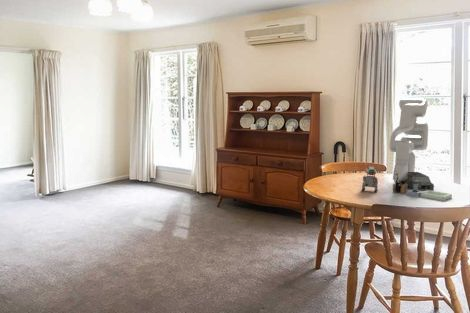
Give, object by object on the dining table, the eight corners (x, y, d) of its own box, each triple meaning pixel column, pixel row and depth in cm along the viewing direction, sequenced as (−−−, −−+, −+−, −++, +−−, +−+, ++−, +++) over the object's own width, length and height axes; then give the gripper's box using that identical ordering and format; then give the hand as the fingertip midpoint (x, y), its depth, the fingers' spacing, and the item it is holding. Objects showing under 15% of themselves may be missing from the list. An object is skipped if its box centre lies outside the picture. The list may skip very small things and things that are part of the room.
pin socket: (406, 195, 253) (406, 190, 252) (411, 193, 257) (412, 189, 257) (417, 197, 247) (418, 192, 247) (423, 195, 252) (423, 191, 251)
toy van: (417, 193, 257) (418, 177, 255) (402, 185, 281) (402, 170, 280) (434, 194, 257) (435, 178, 255) (417, 185, 281) (418, 171, 280)
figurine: (379, 189, 266) (380, 166, 264) (375, 193, 256) (377, 169, 254) (364, 188, 271) (365, 165, 269) (360, 191, 261) (361, 167, 259)
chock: (392, 191, 262) (393, 183, 261) (396, 190, 265) (396, 182, 264) (403, 193, 256) (404, 185, 256) (407, 192, 259) (407, 184, 259)
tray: (419, 196, 249) (419, 192, 248) (427, 193, 256) (428, 189, 255) (443, 201, 238) (443, 196, 238) (451, 198, 245) (451, 194, 245)
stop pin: (410, 195, 252) (411, 180, 251) (413, 194, 255) (414, 179, 253) (416, 196, 250) (417, 181, 248) (419, 195, 252) (420, 180, 251)
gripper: (402, 160, 266) (400, 188, 269) (389, 162, 255) (387, 192, 258) (414, 161, 260) (412, 190, 263) (400, 164, 249) (398, 194, 252)
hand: (399, 190), depth 260 cm, fingers closed on chock, 4 cm apart
